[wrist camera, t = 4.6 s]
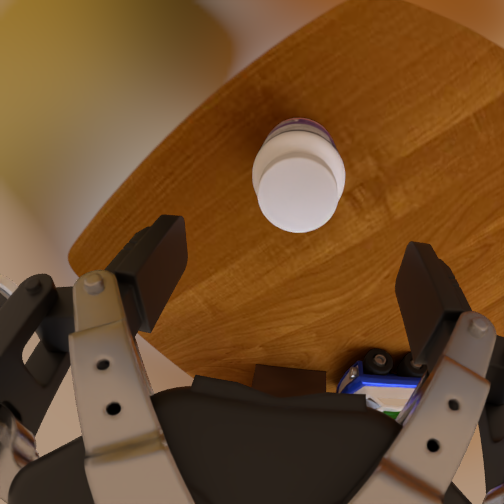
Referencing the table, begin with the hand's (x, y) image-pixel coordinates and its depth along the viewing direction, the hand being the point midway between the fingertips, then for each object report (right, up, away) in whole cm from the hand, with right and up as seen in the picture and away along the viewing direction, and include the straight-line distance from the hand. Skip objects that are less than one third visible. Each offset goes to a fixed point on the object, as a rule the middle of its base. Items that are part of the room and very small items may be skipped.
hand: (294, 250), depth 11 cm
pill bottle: (+2, +8, +12) cm, 15 cm away
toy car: (+15, -15, +25) cm, 33 cm away
